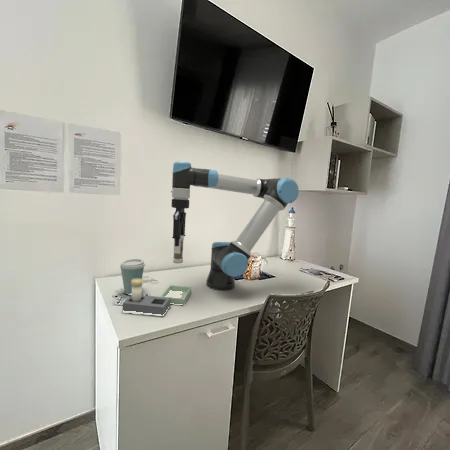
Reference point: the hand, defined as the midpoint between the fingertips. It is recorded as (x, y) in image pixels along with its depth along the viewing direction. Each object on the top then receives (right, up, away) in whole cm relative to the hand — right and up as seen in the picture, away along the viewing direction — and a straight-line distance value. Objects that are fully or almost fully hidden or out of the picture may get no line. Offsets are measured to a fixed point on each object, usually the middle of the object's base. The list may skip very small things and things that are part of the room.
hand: (178, 251), depth 115 cm
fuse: (-15, -22, -10) cm, 28 cm away
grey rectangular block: (-11, -22, -10) cm, 27 cm away
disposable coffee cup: (-22, -20, +5) cm, 30 cm away
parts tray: (-2, -21, +3) cm, 21 cm away
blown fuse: (0, -5, +1) cm, 5 cm away
